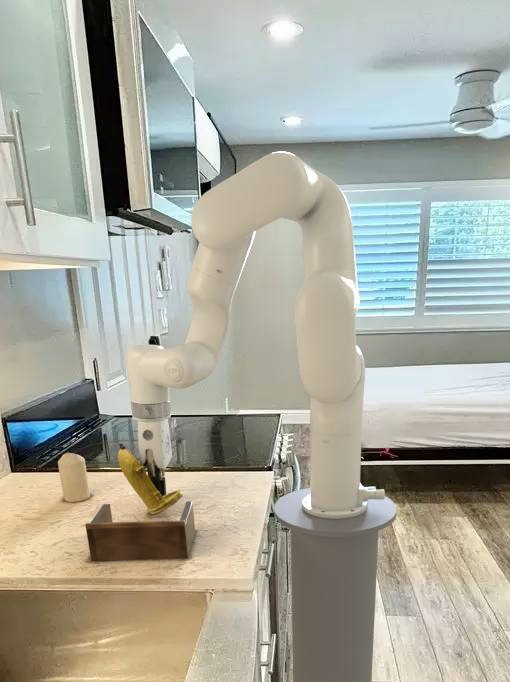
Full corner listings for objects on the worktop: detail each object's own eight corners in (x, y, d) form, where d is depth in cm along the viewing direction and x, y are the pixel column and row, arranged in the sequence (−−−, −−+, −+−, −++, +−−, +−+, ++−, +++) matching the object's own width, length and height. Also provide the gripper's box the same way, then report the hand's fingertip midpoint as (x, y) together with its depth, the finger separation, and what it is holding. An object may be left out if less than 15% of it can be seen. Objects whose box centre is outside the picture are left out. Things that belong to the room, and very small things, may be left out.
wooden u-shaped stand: (195, 531, 107) (192, 497, 104) (187, 558, 97) (184, 521, 94) (107, 533, 107) (102, 500, 104) (91, 561, 97) (85, 524, 94)
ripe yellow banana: (124, 523, 112) (112, 450, 106) (130, 508, 119) (118, 438, 113) (183, 518, 112) (174, 445, 107) (185, 503, 120) (176, 434, 114)
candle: (95, 495, 126) (89, 452, 123) (76, 503, 122) (68, 459, 118) (78, 491, 129) (71, 449, 125) (58, 499, 125) (50, 455, 121)
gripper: (163, 418, 106) (170, 509, 113) (176, 402, 120) (181, 484, 127) (123, 418, 106) (132, 509, 113) (140, 402, 120) (147, 484, 127)
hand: (158, 496), depth 120 cm, fingers closed
